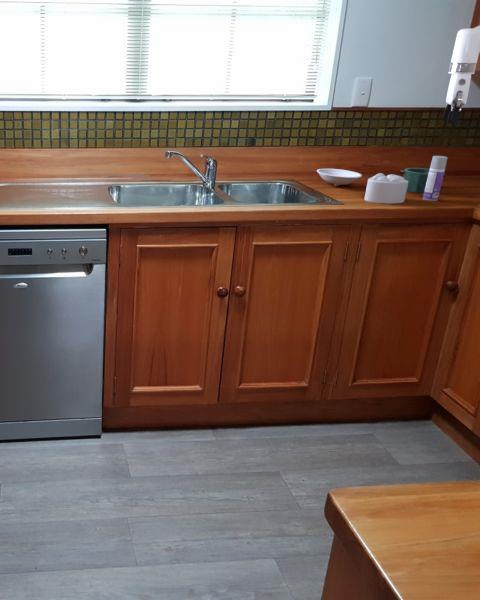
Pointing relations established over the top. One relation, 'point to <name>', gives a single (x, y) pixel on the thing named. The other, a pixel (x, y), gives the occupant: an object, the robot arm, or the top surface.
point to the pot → (416, 179)
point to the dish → (338, 176)
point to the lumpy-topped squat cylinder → (386, 189)
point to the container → (435, 178)
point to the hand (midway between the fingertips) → (449, 122)
